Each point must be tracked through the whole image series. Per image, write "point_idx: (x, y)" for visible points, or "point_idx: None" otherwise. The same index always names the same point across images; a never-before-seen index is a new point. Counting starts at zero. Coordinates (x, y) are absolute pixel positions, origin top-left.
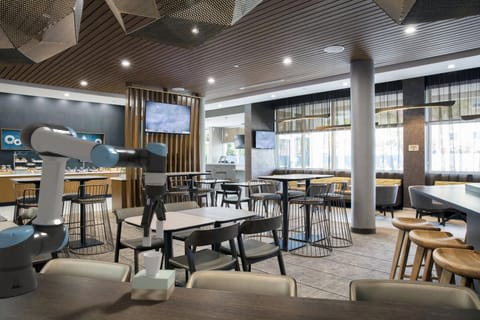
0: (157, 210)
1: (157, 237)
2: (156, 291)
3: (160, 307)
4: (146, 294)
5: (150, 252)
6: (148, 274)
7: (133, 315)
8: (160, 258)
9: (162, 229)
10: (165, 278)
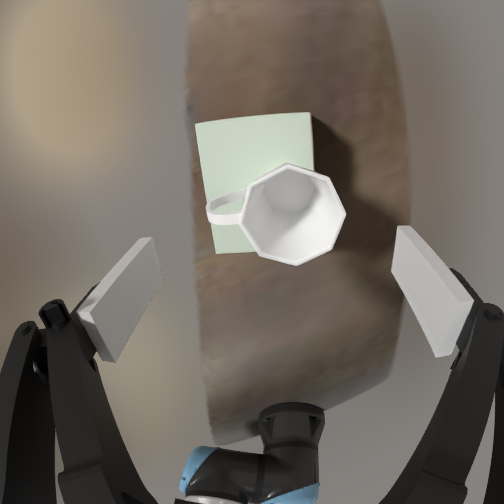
0: (122, 460)
1: (159, 270)
2: (313, 148)
3: (359, 115)
4: None
5: (256, 243)
6: (310, 196)
7: (410, 172)
8: (296, 166)
9: (125, 271)
10: (307, 123)
